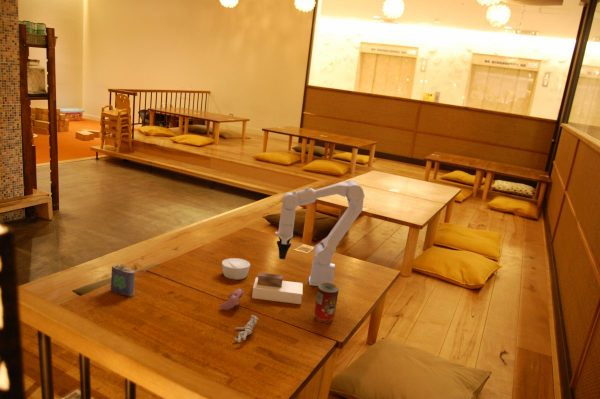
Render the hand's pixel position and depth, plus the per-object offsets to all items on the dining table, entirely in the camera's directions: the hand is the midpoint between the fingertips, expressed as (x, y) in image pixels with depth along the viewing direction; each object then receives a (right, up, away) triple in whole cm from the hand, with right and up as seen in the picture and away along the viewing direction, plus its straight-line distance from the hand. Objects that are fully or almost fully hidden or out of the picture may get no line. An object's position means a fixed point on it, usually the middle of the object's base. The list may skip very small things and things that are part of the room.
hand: (282, 255), depth 190 cm
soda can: (+15, -19, -26) cm, 35 cm away
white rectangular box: (-1, -13, -12) cm, 18 cm away
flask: (-54, -10, -27) cm, 61 cm away
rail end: (-5, -12, -13) cm, 18 cm away
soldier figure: (-10, -20, -42) cm, 48 cm away
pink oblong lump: (-17, -15, -25) cm, 33 cm away
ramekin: (-19, -8, +1) cm, 21 cm away
